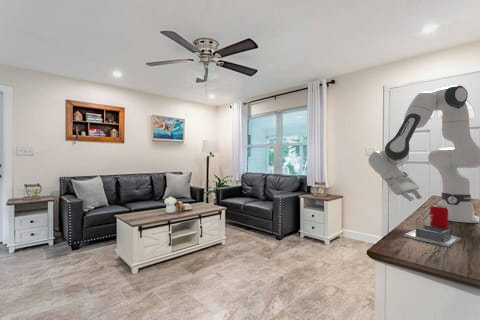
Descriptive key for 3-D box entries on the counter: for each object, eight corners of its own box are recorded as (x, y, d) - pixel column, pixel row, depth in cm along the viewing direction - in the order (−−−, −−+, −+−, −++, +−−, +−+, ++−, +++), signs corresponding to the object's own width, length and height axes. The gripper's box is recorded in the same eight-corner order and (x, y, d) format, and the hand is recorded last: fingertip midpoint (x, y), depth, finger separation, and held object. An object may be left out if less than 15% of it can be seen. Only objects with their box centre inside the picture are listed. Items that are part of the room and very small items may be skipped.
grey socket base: (417, 230, 112) (417, 222, 112) (460, 239, 100) (460, 230, 100) (404, 236, 104) (404, 227, 104) (448, 247, 92) (448, 236, 92)
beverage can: (441, 230, 113) (441, 204, 113) (451, 234, 107) (451, 207, 106) (426, 230, 113) (427, 204, 113) (436, 234, 107) (436, 207, 107)
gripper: (389, 174, 117) (412, 197, 109) (407, 172, 129) (430, 193, 121) (379, 182, 121) (401, 205, 113) (398, 180, 132) (419, 201, 125)
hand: (416, 199), depth 117 cm, fingers open, 8 cm apart
